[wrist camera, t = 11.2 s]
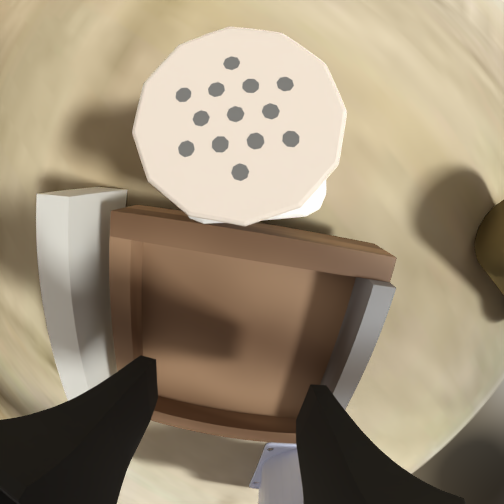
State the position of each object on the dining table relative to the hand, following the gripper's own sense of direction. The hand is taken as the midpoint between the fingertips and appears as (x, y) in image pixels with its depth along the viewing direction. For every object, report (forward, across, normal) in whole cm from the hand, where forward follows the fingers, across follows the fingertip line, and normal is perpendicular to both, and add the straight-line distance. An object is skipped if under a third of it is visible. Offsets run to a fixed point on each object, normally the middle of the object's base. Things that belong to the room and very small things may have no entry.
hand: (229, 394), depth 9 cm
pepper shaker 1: (+6, +1, -8) cm, 10 cm away
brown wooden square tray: (+6, 0, 0) cm, 6 cm away
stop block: (+6, +8, 0) cm, 10 cm away
